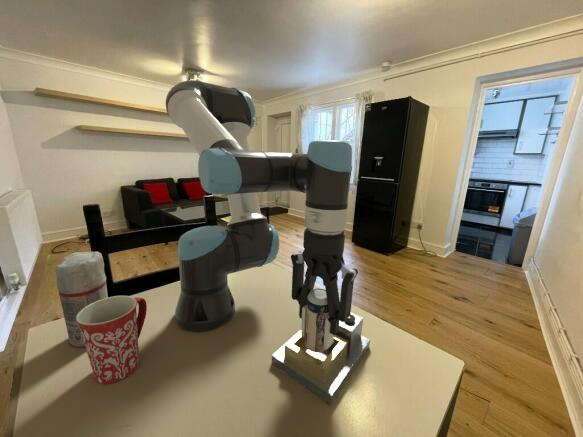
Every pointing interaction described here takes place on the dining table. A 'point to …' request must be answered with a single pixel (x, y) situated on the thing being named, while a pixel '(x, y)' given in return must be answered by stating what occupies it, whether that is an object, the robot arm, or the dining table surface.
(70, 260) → the spray can
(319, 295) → the beer can
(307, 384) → the grey socket fixture
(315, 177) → the robot arm
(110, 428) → the dining table surface
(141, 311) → the mug
